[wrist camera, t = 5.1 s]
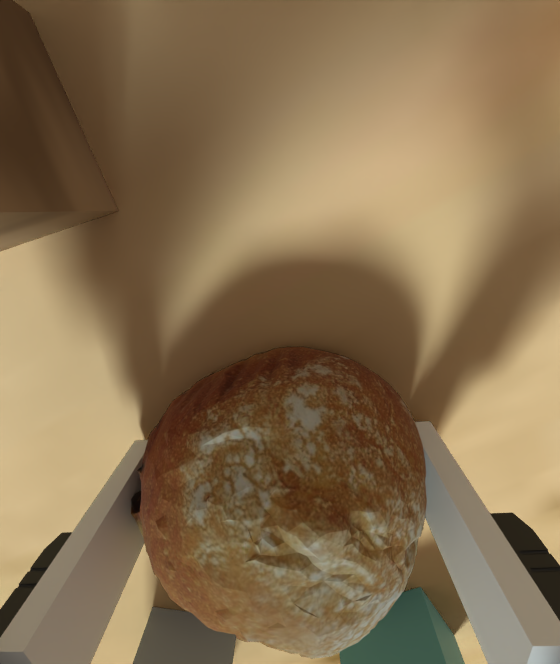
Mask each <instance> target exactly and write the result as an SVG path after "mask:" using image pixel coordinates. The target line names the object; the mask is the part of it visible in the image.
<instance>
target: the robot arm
mask: <svg viewBox="0 0 560 664" xmlns="http://www.w3.org/2000/svg"><path fill="white" fill-rule="evenodd" d="M415 423H416V426H417V429H418V432H419V435H420V438H421V441H422V445H423V451H424V457H425V464H426V478H425V486H426V497H427V505H426V514H425V518H426V520H427V523H428V525H429V527H430V530H431V532H432V534H433V537H434V539H435V541H436V544H437V546H438V548H439V551H440V553H441V555H442V558H443V560H444V562H445V565H446V567H447V569H448V572H449V574H450V576H451V579H452V581H453V583H454V586H455V588H456V590H457V592H458V595H459V597H460V599H461V602H462V604H463V606H464V609H465V611H466V613H467V616H468V618H469V620H470V623H471V625H472V627H473V630H474V632H475V634H476V637H477V639H478V641H479V644H480V646H481V648H482V651H483V653H484V655H485V658H486V660H487V662H488V664H560V565H559V564H558V563H557V561H556V560H555V559H554V557H553V556H552V555H551V554H549V552H548V549H547V548H546V547H545V545H544V544H543V543H542V541H541V540H540V539H539V537H538V536H537V535H536V533H535V532H534V531H533V529H531V528H530V527H529V526H528V525H527V524H525V523H524V522H523V521H522V520H521V519H519V518H518V517H517V516H516V515H515V514H513V513H493V514H490V513H489V511H488V510H487V508H486V507H485V505H484V504H483V502H482V500H481V499H480V497H479V496H478V494H477V493H476V491H475V490H474V488H473V487H472V485H471V484H470V482H469V480H468V479H467V477H466V476H465V474H464V473H463V471H462V470H461V468H460V467H459V465H458V463H457V462H456V460H455V459H454V457H453V456H452V454H451V453H450V451H449V450H448V448H447V446H446V445H445V443H444V442H443V440H442V439H441V437H440V436H439V434H438V433H437V431H436V430H435V428H434V426H433V425H432V423H431V422H430V421H423V422H415ZM147 441H148V440H137V441H134V443H133V444H132V446H131V447H130V449H129V450H128V452H127V453H126V455H125V456H124V457H123V459H122V460H121V462H120V463H119V465H118V466H117V468H116V469H115V471H114V472H113V474H112V475H111V476H110V478H109V479H108V481H107V482H106V484H105V485H104V487H103V488H102V490H101V491H100V493H99V494H98V495H97V497H96V498H95V500H94V501H93V503H92V504H91V506H90V507H89V509H88V510H87V512H86V513H85V515H84V516H83V517H82V519H81V520H80V522H79V523H78V525H77V526H76V528H75V529H74V531H73V532H70V533H61V534H60V535H59V536H58V537H57V538H56V539H55V540H54V541H53V542H52V543H51V544H49V545H48V546H47V547H46V548H45V549H44V550H43V552H42V553H41V555H40V556H39V557H38V559H37V560H36V561H35V563H34V564H33V565H32V567H31V570H30V572H27V574H26V575H25V576H24V578H23V579H22V581H21V582H20V583H19V587H18V588H16V589H15V590H14V591H13V593H12V594H11V596H10V597H9V598H8V600H7V601H6V602H5V604H4V605H3V606H2V608H1V609H0V664H90V663H91V661H92V659H93V657H94V655H95V652H96V650H97V648H98V646H99V643H100V641H101V639H102V637H103V634H104V632H105V630H106V628H107V625H108V623H109V621H110V619H111V616H112V614H113V612H114V610H115V607H116V605H117V603H118V601H119V598H120V596H121V594H122V592H123V589H124V587H125V585H126V583H127V580H128V578H129V576H130V574H131V572H132V569H133V567H134V565H135V563H136V560H137V558H138V556H139V554H140V551H141V549H142V547H143V545H144V538H143V536H142V534H141V532H140V530H139V528H138V525H137V523H136V521H135V519H134V517H133V516H132V515H131V499H132V497H133V496H134V494H135V493H137V492H138V491H140V490H141V480H140V476H139V473H138V472H137V470H138V469H139V468H140V467H141V466H142V462H143V460H142V459H143V457H144V452H145V449H146V445H147Z"/></svg>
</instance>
